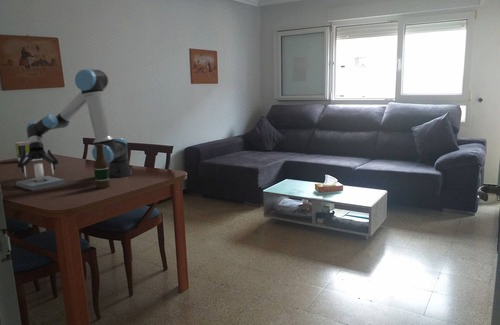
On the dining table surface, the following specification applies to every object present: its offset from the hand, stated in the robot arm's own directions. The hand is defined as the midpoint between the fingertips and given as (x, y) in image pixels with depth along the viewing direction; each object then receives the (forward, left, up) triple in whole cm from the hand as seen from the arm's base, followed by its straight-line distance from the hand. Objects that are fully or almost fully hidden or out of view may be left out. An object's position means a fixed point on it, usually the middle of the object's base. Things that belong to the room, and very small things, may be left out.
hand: (39, 175), depth 216 cm
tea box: (+84, -34, -6) cm, 91 cm away
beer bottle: (-32, -18, -6) cm, 37 cm away
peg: (+2, -1, -6) cm, 7 cm away
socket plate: (+2, -1, -6) cm, 6 cm away
